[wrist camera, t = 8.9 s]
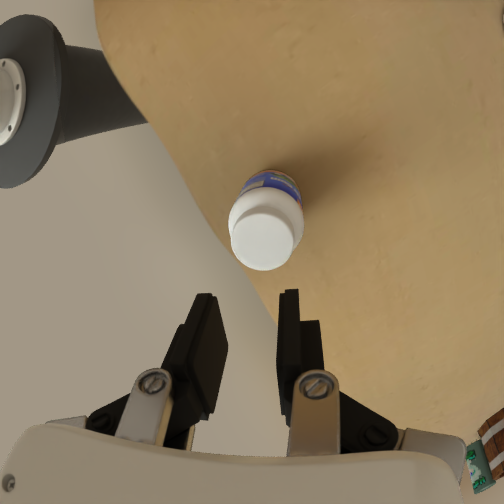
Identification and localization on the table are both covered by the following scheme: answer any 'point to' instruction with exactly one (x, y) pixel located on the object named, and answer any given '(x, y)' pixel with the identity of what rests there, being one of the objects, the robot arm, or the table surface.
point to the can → (479, 467)
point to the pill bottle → (266, 220)
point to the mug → (494, 443)
